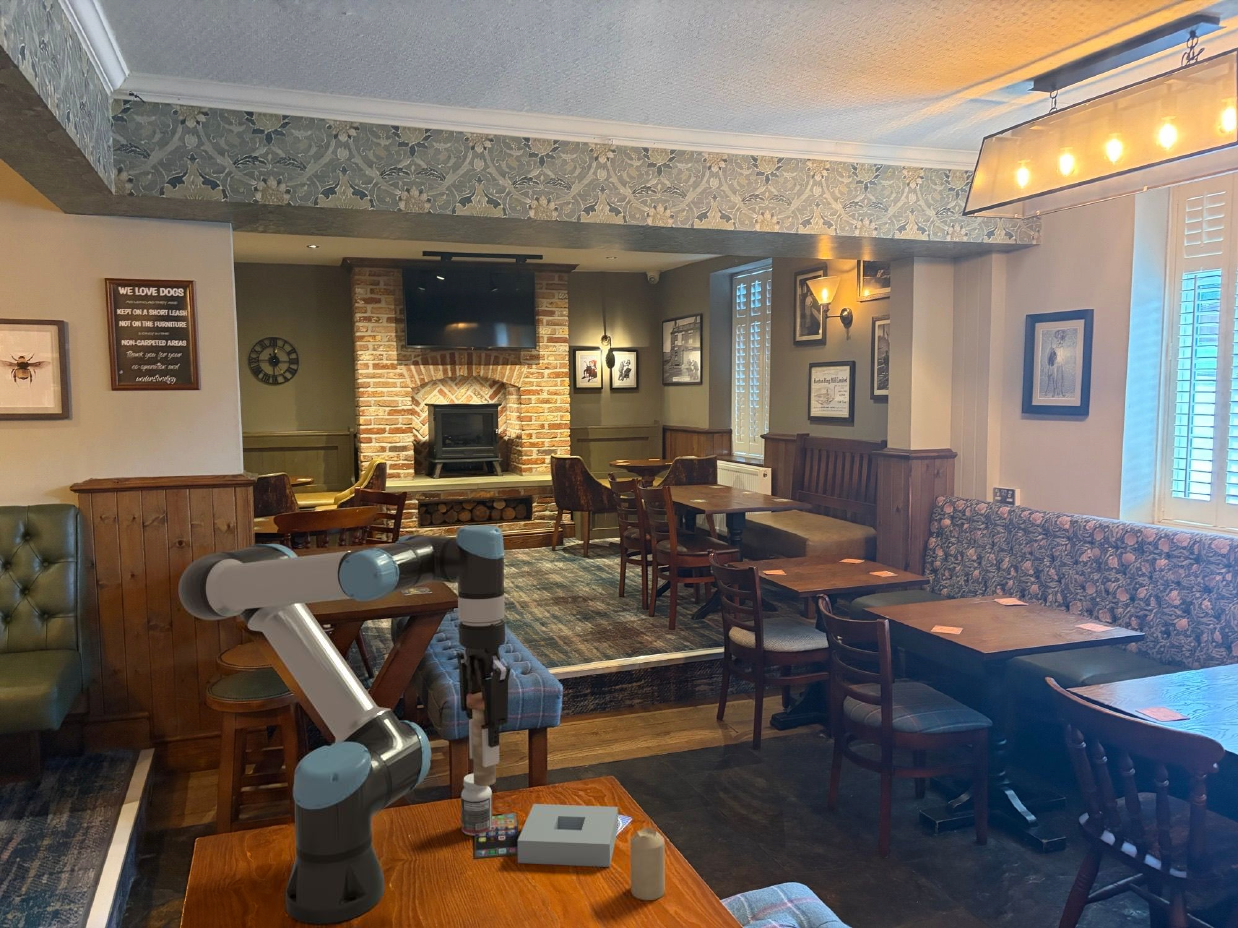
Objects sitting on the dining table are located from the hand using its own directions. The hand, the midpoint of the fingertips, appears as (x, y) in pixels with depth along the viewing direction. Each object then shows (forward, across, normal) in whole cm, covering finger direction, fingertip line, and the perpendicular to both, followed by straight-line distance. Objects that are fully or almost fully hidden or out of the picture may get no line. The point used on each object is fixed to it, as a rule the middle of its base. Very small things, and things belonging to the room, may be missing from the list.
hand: (484, 759), depth 142 cm
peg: (+4, 0, 0) cm, 4 cm away
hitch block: (+20, +1, -18) cm, 27 cm away
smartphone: (+21, +12, -9) cm, 26 cm away
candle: (+21, -20, -18) cm, 34 cm away
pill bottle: (+21, +17, -8) cm, 28 cm away
